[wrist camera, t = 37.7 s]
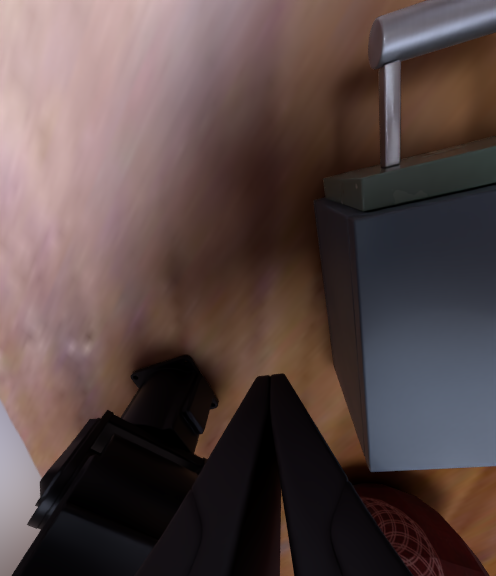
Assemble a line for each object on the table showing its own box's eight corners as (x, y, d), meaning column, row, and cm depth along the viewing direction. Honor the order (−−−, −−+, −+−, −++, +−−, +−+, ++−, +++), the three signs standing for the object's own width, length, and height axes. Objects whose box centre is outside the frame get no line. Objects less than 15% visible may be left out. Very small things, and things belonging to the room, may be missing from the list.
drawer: (312, 79, 13) (351, -13, 7) (556, 2, 11) (914, -218, 5) (341, 350, 20) (373, 429, 14) (495, 330, 18) (614, 410, 12)
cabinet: (313, 200, 16) (353, 220, 8) (525, 150, 14) (842, 114, 6) (333, 365, 22) (370, 473, 14) (490, 347, 19) (637, 459, 12)
